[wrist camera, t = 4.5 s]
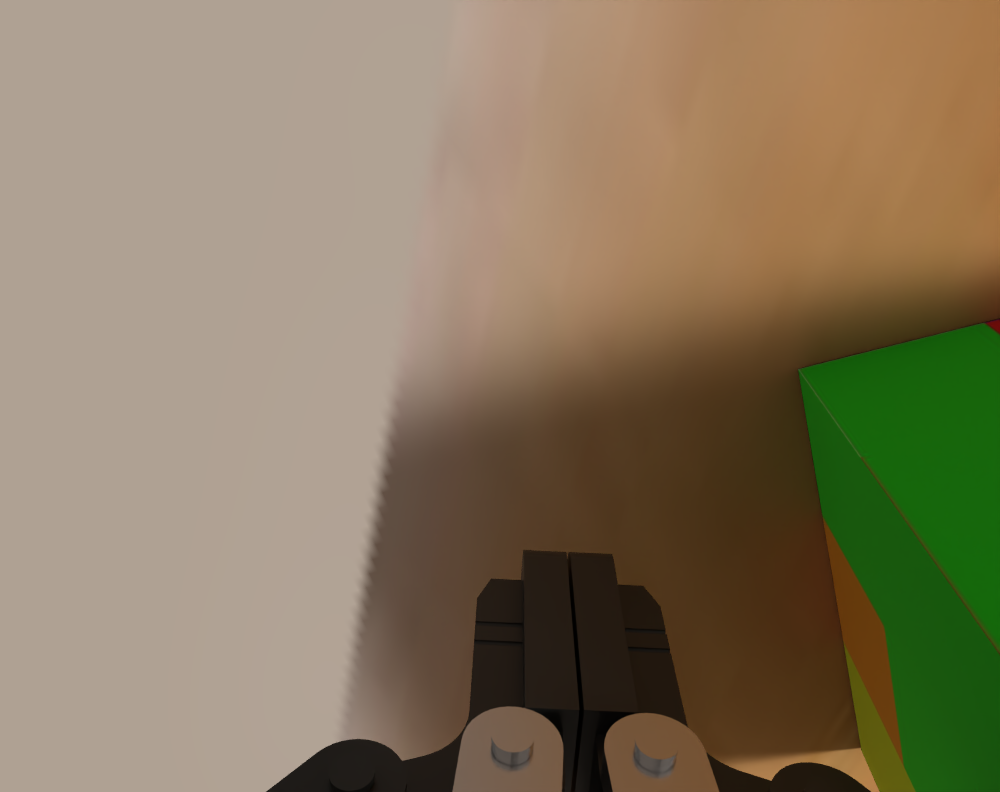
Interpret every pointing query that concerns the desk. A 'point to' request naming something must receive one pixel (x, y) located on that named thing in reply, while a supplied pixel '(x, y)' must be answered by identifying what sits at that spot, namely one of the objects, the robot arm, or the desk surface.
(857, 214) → the desk surface
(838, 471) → the puzzle toy
